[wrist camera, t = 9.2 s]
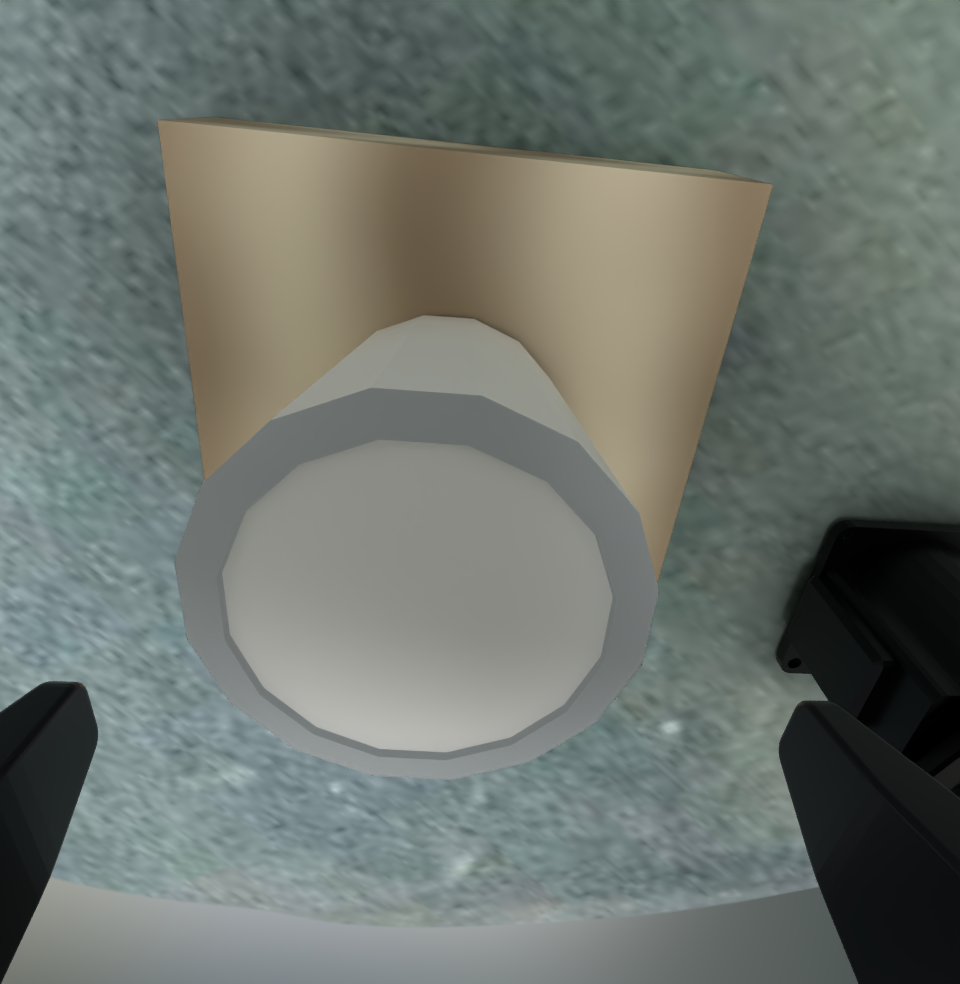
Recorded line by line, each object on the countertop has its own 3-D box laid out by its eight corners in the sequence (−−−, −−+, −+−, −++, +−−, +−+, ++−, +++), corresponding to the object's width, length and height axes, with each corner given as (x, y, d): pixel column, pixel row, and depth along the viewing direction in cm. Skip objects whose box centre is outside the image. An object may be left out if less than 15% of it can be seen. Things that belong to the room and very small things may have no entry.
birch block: (705, 168, 17) (773, 184, 13) (613, 552, 23) (642, 632, 19) (220, 116, 16) (157, 119, 12) (257, 533, 22) (222, 614, 18)
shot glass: (235, 381, 15) (61, 543, 9) (500, 221, 13) (517, 278, 7) (399, 596, 18) (354, 836, 11) (634, 483, 16) (731, 691, 10)
